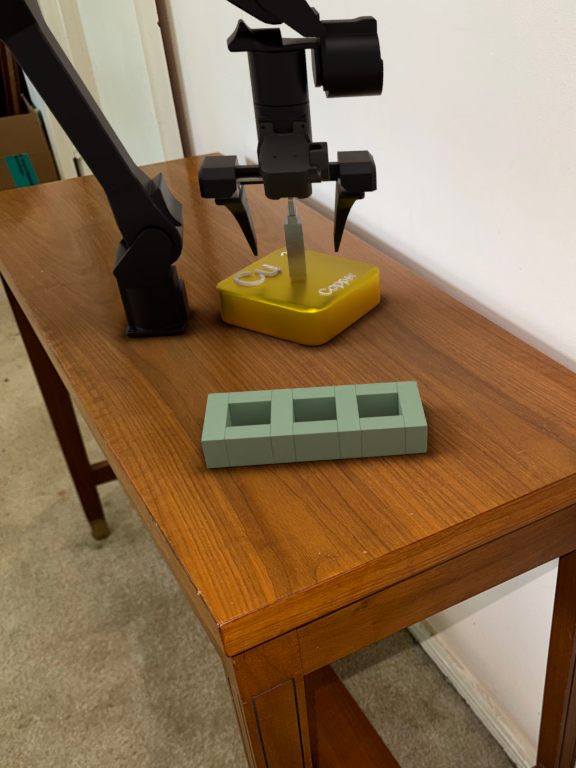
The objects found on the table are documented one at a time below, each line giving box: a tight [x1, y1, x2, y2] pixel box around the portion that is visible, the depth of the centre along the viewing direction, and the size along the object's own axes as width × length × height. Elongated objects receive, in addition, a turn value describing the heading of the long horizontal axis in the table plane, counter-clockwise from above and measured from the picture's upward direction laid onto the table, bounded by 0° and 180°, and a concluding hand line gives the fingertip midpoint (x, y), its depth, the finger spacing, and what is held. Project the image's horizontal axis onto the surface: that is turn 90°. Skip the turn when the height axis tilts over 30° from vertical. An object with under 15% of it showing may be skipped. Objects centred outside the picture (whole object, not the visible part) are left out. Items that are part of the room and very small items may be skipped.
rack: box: [200, 380, 428, 469], centre depth 71 cm, size 20×8×3 cm, turn 97°
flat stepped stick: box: [283, 197, 307, 277], centre depth 87 cm, size 2×4×8 cm, turn 6°
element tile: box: [215, 246, 381, 347], centre depth 91 cm, size 15×15×5 cm
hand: (296, 253), depth 88 cm, fingers open, 9 cm apart
